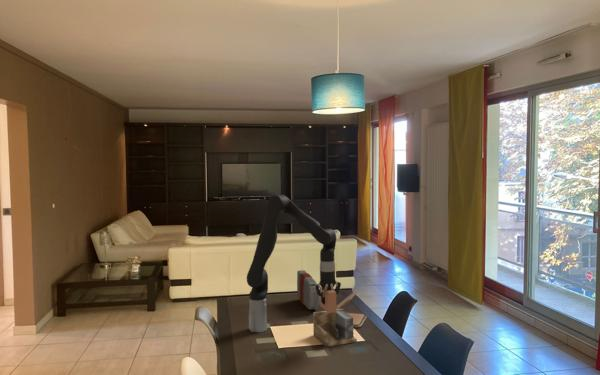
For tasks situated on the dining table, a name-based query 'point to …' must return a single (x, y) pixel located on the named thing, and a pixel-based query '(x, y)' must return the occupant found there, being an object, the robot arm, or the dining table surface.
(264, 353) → the dining table surface
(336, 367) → the dining table surface
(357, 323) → the case
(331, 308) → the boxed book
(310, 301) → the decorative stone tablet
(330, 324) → the shelf
